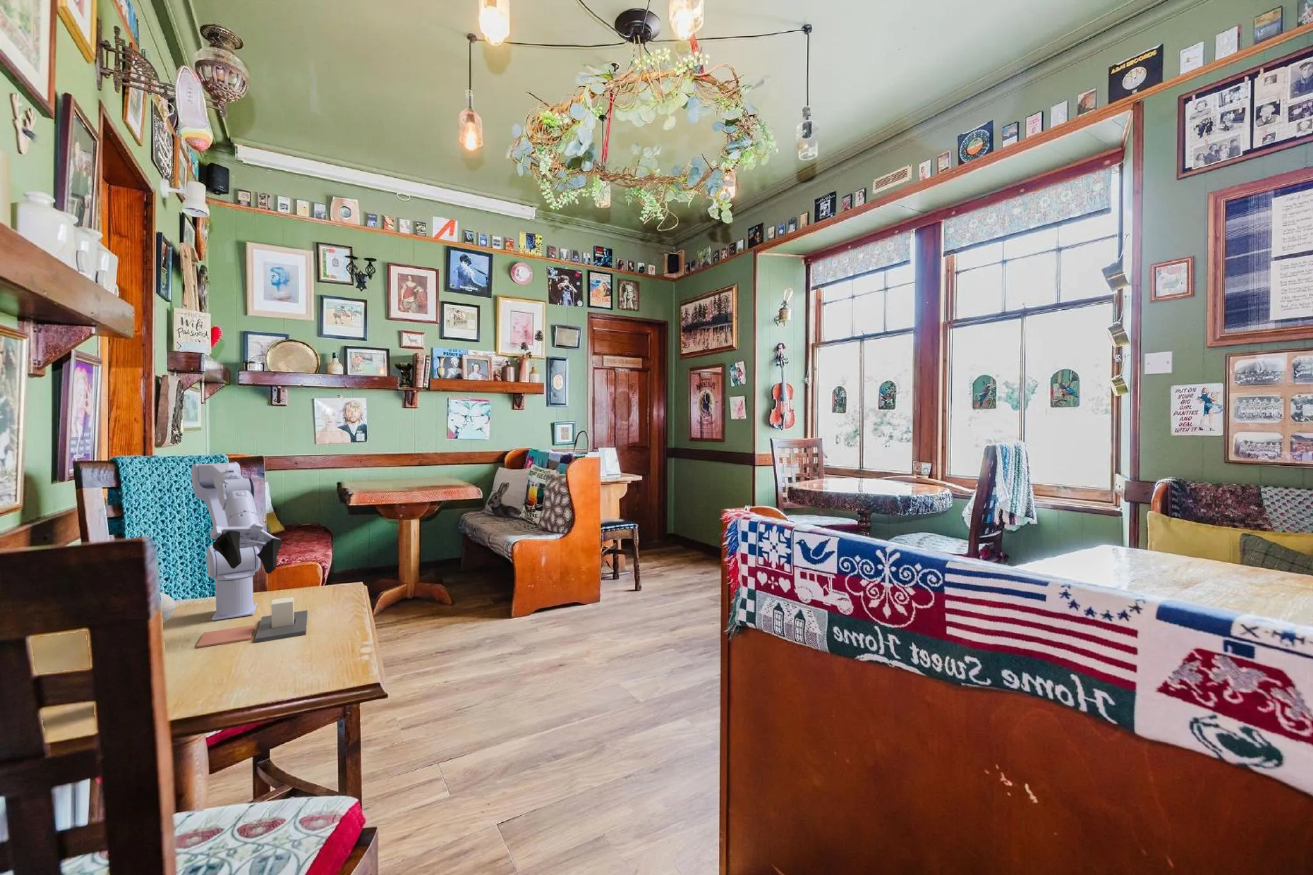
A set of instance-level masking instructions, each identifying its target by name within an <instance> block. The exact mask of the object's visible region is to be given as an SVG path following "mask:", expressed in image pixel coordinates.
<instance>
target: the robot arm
mask: <svg viewBox="0 0 1313 875" xmlns="http://www.w3.org/2000/svg"><path fill="white" fill-rule="evenodd" d="M190 472H191V474H190V475H191V476H190V478H191V483H192V484H191V485H192V488H193V493H194V495H195V498H196V499H197V500H200V501H203V502H204V503H205V505H206V507H207V509H208V512H209V515H210V519H211V523H212V527H213V528H212V529H211V530H210V531H209V536H210V539H212V540H215V541H214V542H213V543H212V544H211V545H208V547H207V550H206V558H205V560H206V571H207V576H208V577H209V578H211V579H214V580H215V582H214V583H215V612H214V614H213V615H212V618H211V620H212V621H219V620H225V619H231V618H240V617H246V616H253V615H254V614H255V612H256V609H257V607H258V602H254V582H253V580H254V577H253V576H255V573H257V572H258V571H259V570H260V568H261V564H262V565H263V569H264V571H265V573H266V574H269V575H270V574H272V572H274V570H276V568H277V560H278V554H279V551H280V549H281V547H282V545H283V541H282V539H281V538H278V537H276V536H273V535H272V534H270V533H268V532H267V531H266V530H264V525H263V524H261V522H260V519H259V515H258V511H257V507H256V504H255V497H256V496H255V495H256V488H255V482H254V480H253V478H252V477H247V478H244V477H243V476H242V473H241V472H242V470H241V466H240V463H238V462H237V461H232V462H221V463H220V462H218V463H194V464H193V465H192V466H191V471H190ZM259 547H261V550H260V549H259Z"/></svg>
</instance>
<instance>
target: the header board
mask: <svg viewBox="0 0 1313 875" xmlns="http://www.w3.org/2000/svg"><path fill="white" fill-rule="evenodd" d="M307 623H308V610H307V609H306V610H299V611H294V625H289V626H283V627H276V628H272V614H271V615H265V616H261V618H260V622H259V625H258V629H257V631H256V635H255V638H254V643H261V642H267V641H266V640H268V641H273V640H280V639H287V638H291V637H298V636H305V635H307V627H306V626H308V624H307Z"/></svg>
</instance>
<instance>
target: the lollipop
mask: <svg viewBox="0 0 1313 875" xmlns="http://www.w3.org/2000/svg"><path fill="white" fill-rule="evenodd" d="M159 593H160V595H161V609H162V618H163V623H162V624H164V623H166V622H167V621H169V620H170V619H171V617H172V616H173V615H174V612H175V610H176V609H177V604H176V602H175V600H174V599H173V598H172V597H171V596H170V595H169V594H166V593H163V592H159Z"/></svg>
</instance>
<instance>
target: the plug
mask: <svg viewBox="0 0 1313 875" xmlns="http://www.w3.org/2000/svg"><path fill="white" fill-rule="evenodd" d="M270 606H271V615H272V626H271V628H276V627H283V626H289V625H295V622H294V612H295V598H294V596H291V597H283V598H276V599H272V601H271V605H270Z"/></svg>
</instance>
